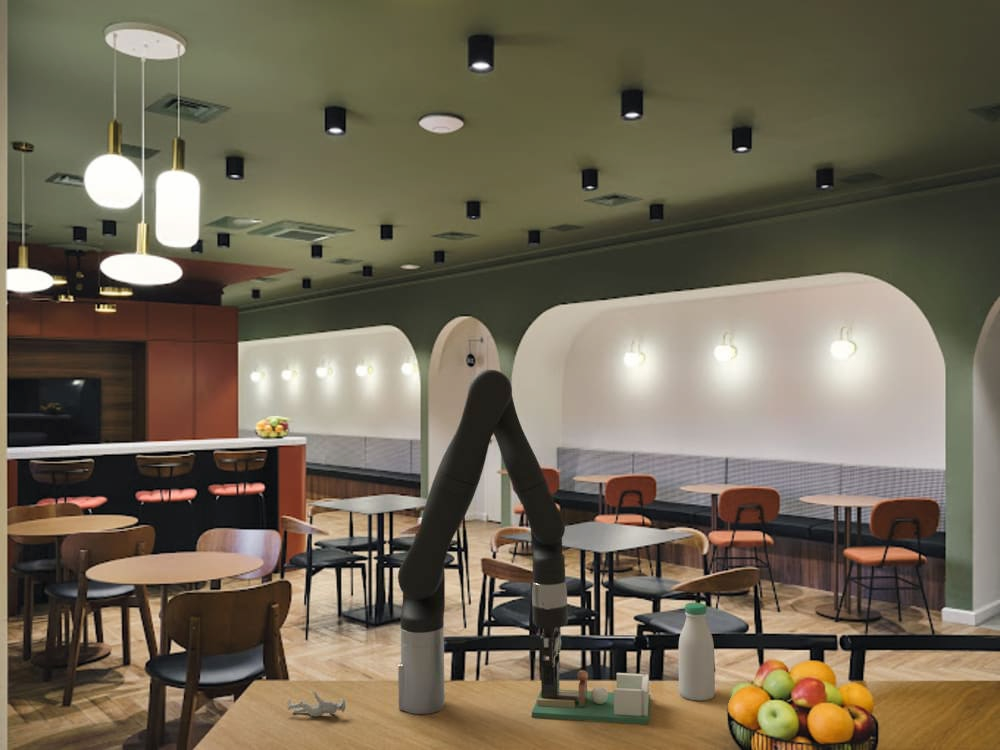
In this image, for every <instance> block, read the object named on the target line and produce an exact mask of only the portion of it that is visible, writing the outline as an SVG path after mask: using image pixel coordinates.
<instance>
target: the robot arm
mask: <svg viewBox="0 0 1000 750" xmlns="http://www.w3.org/2000/svg"><path fill="white" fill-rule="evenodd" d="M512 387H513V386H512V384H511V381H510V380H509V378H508V377H507V375H505V374H504V373H503V372H501V371H498V370H496V369H486V370H483V371H480V372H479V373H477V374H475V375H474V377H473V378H472V379H471V381H470V383H469V386H468V391H467V395H466V399H465V405H464V408H463V412H462V415H461V418H460V422H459V425H458V427H457V429H456V430H455V431H456V432H455V434H454V435H453V437H452V439H451V440H450V443H449V444H448V446H447V447H446V448H447V449H446V451H445V452H444V454H443V456H442V459H441V461H440V463H439V466H438V467H437V471H436V473H435V476H434V479H433V481H432V483H431V487H430V490H429V492H428V496H427V499H426V503H425V506H424V510H423V513H422V517H421V522H420V525H419V527H418V530H417V533H416V536H415V537H414V540H413V542H412V544H411V546H410V547H409V551H408V552H407V554H406V556H405V558H404V559H403V562H402V563H401V565H400V567H399V569H398V573H397V582H398V585H399V589H400V590H401V592H402V604H401V607H402V608H401V612H400V655H401V656H400V657H401V658H400V659H401V662H400V663H399V664H398V665H397V670H398V672H397V673H398V677H397V678H398V682H397V683H398V684H397V685H398V710H399V711H404V712H406V713H409V714H413V715H415V714H416V715H426V714H433V713H436V712H439V711H441V710H443V708H445V699H446V697H445V696H446V695H445V639H444V638H445V636H444V635H445V633H444V631H445V630H444V629H445V628H444V626H445V625H444V617H445V610H446V609H445V606H446V605H445V602H446V601H445V599H446V596H445V595H446V591H445V590H446V589H445V588H446V587H445V586H446V585H445V583H446V581H445V579H446V578H445V577H446V576H445V574H446V573H445V572H446V571H445V566H444V564H445V561H446V558H447V555H448V551H449V547H450V546H451V543H452V540H453V539H454V536H455V535H456V533H457V531H458V530H459V527H460V526H461V523H462V522H463V520H464V518H465V516H466V514H467V512H468V510H469V508H470V506H471V504H472V501H473V498H474V496H475V493H476V490H477V489H478V486H479V483H480V480H481V477H482V474H483V469H484V467H485V464H486V463H485V462H486V458H487V454H488V450H489V446H490V442H491V439H492V437H493V436H494V438H495V441H496V443H497V445H498V448H499V451H500V455H501V457H502V460H503V464H504V467H505V469H506V472H507V476H508V478H509V480H510V482H511V485H512V487H513V489H514V492H515V494H516V496H517V498H518V500H519V501H520V503H521V504H522V507H523V509H524V512H525V515H526V518H527V521H528V523H529V527H530V538H531V539H530V541H531V548H532V586H531V587H532V588H531V601H532V602H531V603H532V604H531V605H532V623H533V625H534V626H535V627H537V628H542V629H543V630H542V632H541V634H540V636H539V637H540V639H539V644H540V645H539V646H540V662H539V663H540V664H539V665H540V668H541V667H543V673H544V684H545V685H553V684H554V682H555V678H554V666H555V663H554V662H555V660H559V670H561V669H560V668H561V666H560V659H561V658H560V653H561V648H562V646H563V645H562V639H561V638H562V633H561V628H562V627H565V626H566V625H567V624H568V622H569V620H568V618H569V617H568V616H569V615H568V590H567V584H566V563H565V558H564V554H563V537H564V535H565V532H566V526H565V521H564V518H563V516H562V515H561V512H560V510H559V508H558V506H557V503H556V502H555V500H554V498H553V496H552V494H551V491H550V488H549V486H548V483H547V480H546V477H545V475H544V473H543V469H542V468H541V465H540V463H539V461H538V459H537V456H536V454H535V452H534V451H533V448H532V447H531V444H530V443H529V440H528V439H527V436H526V433H525V432H524V430H523V426H522V425H521V422H520V420H519V417H518V414H517V410H516V407H515V403H514V397H513V388H512ZM547 658H548V660H550V661H545V659H547Z"/></svg>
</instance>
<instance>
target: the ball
mask: <svg viewBox="0 0 1000 750" xmlns="http://www.w3.org/2000/svg"><path fill="white" fill-rule="evenodd" d="M591 691H592V692H591V698H592V700H593V701H594V702H595V703H596V704H603V703H605V702H606V701H607V699H608V693H607V692H608V690H607V689H606V688H605V687H604V686H599V685H597V686H595V687H594V688H593V689H591Z"/></svg>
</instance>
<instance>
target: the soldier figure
mask: <svg viewBox="0 0 1000 750" xmlns="http://www.w3.org/2000/svg"><path fill="white" fill-rule="evenodd" d="M311 693H312V694H313V695H314V698H315V699H316V701H317V703H318V704H315V705H314V706H313V705H311V703H308V702H307V701H304V700H301V701H300V702H297V703H294V704H293V703H292V704H291V700H287V702H286V703H287V707H286V708H287V710H288V711H290V710H291V709H292V712H291V713H295V714H300V713H305V712H306V713H307V714H309V715H310V716H311V717H313V716H314V717H313V718H318V717H317V716H319V717H321V716H323V715H324V714H329V715H333V714H335V713H336V712H337V711H341V712H342V713H344V712H345V710H346V702H345V699H344V697H342V699H341V700H338V701H337V702H335V701H331V700H327V701H326V700H322V699H321V698H320V696H319V695H318V694H317V692H316V691H315V690H313V689H312V690H311Z"/></svg>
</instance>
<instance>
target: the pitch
mask: <svg viewBox="0 0 1000 750" xmlns="http://www.w3.org/2000/svg"><path fill="white" fill-rule="evenodd" d="M559 692H560V693H577V694H579V689H578V690H576V689H560V688H559ZM591 692H592V690H587V699H586V703H585V707H580V706H579V702H575V700H561V699H544V698H542V688H541V689H540V691H539V694H538V695H537V696H538V697H537V698H536V701H535V703H534V706H533V708H532V711H531V718H540V719H541V718H542V719H554V720H556V719H557V720H570V721H571V720H573V721H574V720H575V721H585V722H586V721H587V722H588V721H590V722H600V723H601V722H604V723H619V724H633V725H634V724H635V725H650V713H651V712H650V711H651V694H649V702H648V716H638V715H622V714H614V691H613V692H611V691H607V693H608V699H607V701H606V702H605V703H603V704H596V703H595V702H594V701H593V700H592V698H591Z"/></svg>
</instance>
